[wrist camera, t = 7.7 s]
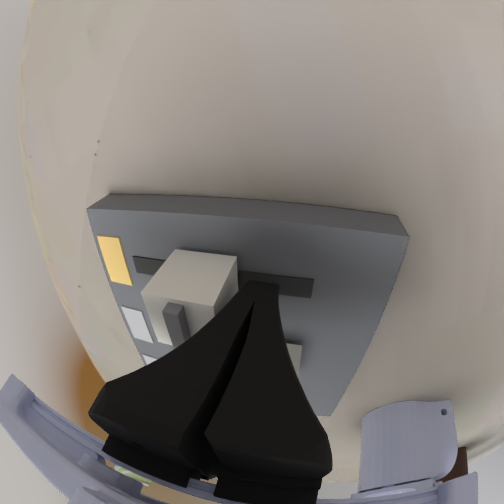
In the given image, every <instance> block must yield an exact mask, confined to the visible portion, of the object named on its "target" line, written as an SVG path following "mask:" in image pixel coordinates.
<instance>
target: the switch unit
mask: <svg viewBox="0 0 504 504" xmlns="http://www.w3.org/2000/svg"><path fill="white" fill-rule="evenodd" d="M87 213H88V217H89V221H90V225H91V228H92V232H93V235H94V239H95V242H96V246H97V249H98V252H99V255H100V258H101V261H102V264H103V267H104V270H105V273H106V276H107V279H108V281H109V284H110V287H111V289H112V292H113V295H114V297H115V300H116V302H117V305H118V307H119V310H120V312H121V314H122V317H123V319H124V321H125V324H126V326H127V328H128V331H129V333H130V335H131V337H132V339H133V341H134V344H135V346H136V348H137V350H138V352H139V354H140V356H141V358H142V360H143V362H144V364H145V366H146V365H148V364H150V363H152V362H153V361H155V360H157V359H159V358H161V357H162V356H164V355H166V354H167V353H169V352H170V351H172V350H173V349H174V348H173V346H172V345H168V344H164V343H161V342H158V340H157V337H156V335H155V332H154V329H153V327H152V324H151V321H150V318H149V315H148V312H147V310H146V307H145V304H144V301H143V298H142V294H141V291H142V290H143V289H144V287H145V286H146V285H147V284H148V282H149V281H150V280H151V278H152V277H153V276H154V275H155V273H156V272H157V271H158V270H159V268H160V267H161V266H162V265H163V263H164V262H165V261H166V260H167V258H168V257H169V256H170V255H171V254H172V252H173V251H174V250H175V249H178V250H186V251H195V252H203V253H212V254H220V255H228V256H237V274H238V290H239V289H240V288H241V287H242V285H243V284H244V283H245V282H246V281H247V280H253V281H261V282H269V283H277V284H278V285H279V286H280V288H279V311H280V317H281V323H282V328H283V333H284V337H285V341H286V343H287V344H295V345H302V351H301V360H300V368H299V375H298V379H299V382H300V384H301V386H302V388H303V391H304V393H305V395H306V397H307V399H308V401H309V403H310V405H311V407H312V409H313V411H314V413H315V415H319V416H331V414H332V413H333V411H334V409H335V408H336V406H337V404H338V403H339V401H340V399H341V398H342V396H343V394H344V392H345V391H346V389H347V387H348V385H349V383H350V382H351V380H352V378H353V376H354V374H355V372H356V370H357V368H358V366H359V364H360V362H361V360H362V358H363V356H364V354H365V352H366V350H367V348H368V346H369V344H370V342H371V340H372V337H373V335H374V333H375V331H376V329H377V326H378V324H379V322H380V319H381V317H382V314H383V312H384V310H385V307H386V305H387V302H388V300H389V297H390V294H391V292H392V289H393V286H394V284H395V281H396V278H397V275H398V272H399V269H400V266H401V263H402V260H403V257H404V254H405V251H406V247H407V244H408V241H409V235H408V233H407V232H406V230H405V228H404V227H403V225H402V223H401V222H400V220H399V218H398V217H397V216H394V215H387V214H381V213H374V212H366V211H359V210H351V209H343V208H335V207H327V206H318V205H308V204H298V203H288V202H277V201H265V200H252V199H238V198H222V197H203V196H180V195H137V194H109V195H107V196H106V197H104V198H102V199H101V200H99V201H98V202H96V203H95V204H93V205H92V206H90V207H89V208H87Z"/></svg>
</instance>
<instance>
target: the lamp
mask: <svg viewBox="0 0 504 504" xmlns="http://www.w3.org/2000/svg"><path fill="white" fill-rule="evenodd" d="M467 474H468V465H467V453H466V447H461V448H458V452H457V458H456V461H455V464H454V466H453V468H452V470H451V471H450V472H449V473H448V474H447V475H446V476H445V477H443V478H441V479H438V480H435V481H436V482H439V481H442V482H443V483H444V482H447V481H449V480H452V479H455V478H458V477H461V476H464V475H467Z"/></svg>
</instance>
